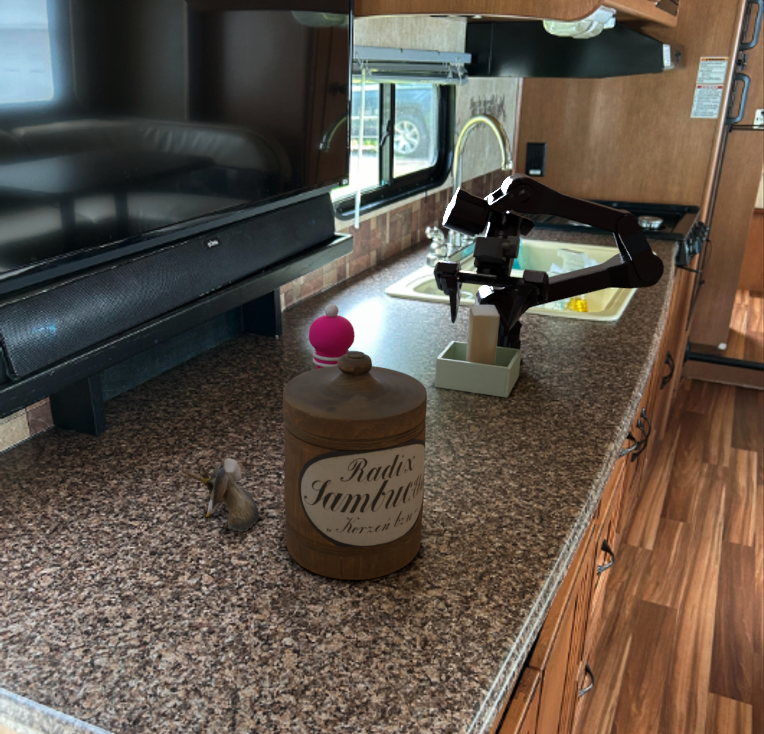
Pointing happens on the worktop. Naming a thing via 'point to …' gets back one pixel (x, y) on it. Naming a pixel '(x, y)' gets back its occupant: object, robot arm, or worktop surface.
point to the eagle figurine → (229, 495)
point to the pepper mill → (330, 337)
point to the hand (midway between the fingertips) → (480, 325)
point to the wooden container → (354, 468)
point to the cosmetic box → (482, 334)
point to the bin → (477, 371)
